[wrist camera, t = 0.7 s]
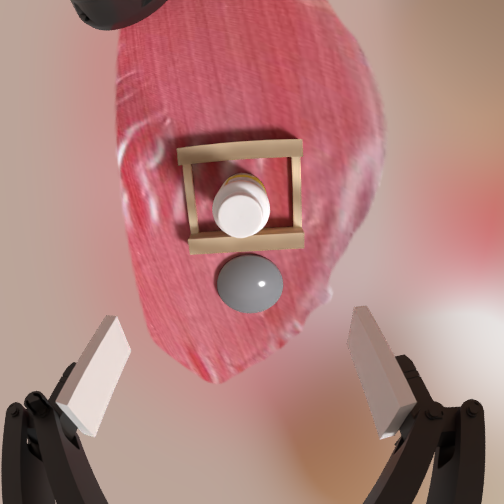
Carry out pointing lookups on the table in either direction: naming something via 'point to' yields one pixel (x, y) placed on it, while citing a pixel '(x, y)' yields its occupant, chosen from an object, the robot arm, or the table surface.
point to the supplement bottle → (241, 206)
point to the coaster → (250, 283)
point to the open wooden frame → (266, 236)
